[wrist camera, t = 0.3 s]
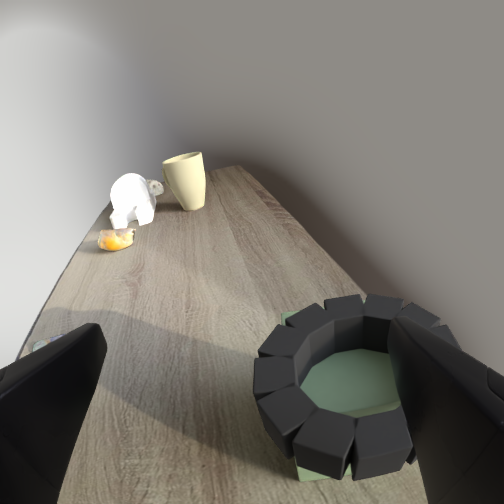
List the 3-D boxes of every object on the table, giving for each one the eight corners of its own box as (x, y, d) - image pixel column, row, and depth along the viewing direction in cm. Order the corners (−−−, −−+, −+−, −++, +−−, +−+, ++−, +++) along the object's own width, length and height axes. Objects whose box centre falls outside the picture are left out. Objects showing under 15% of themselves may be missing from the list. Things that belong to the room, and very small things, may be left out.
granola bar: (32, 357, 32) (28, 351, 32) (36, 346, 34) (32, 340, 34) (71, 347, 34) (68, 341, 33) (74, 336, 36) (70, 329, 35)
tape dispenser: (113, 233, 69) (98, 189, 64) (125, 210, 84) (114, 174, 80) (151, 222, 70) (138, 177, 65) (156, 200, 86) (146, 164, 81)
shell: (136, 237, 63) (136, 221, 60) (137, 254, 61) (136, 237, 57) (100, 240, 61) (97, 224, 57) (99, 256, 58) (95, 240, 55)
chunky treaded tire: (476, 444, 9) (497, 415, 8) (260, 491, 10) (248, 471, 9) (415, 315, 17) (420, 282, 16) (263, 340, 18) (255, 308, 17)
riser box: (400, 464, 16) (431, 391, 12) (299, 482, 17) (286, 420, 13) (377, 381, 23) (387, 295, 19) (294, 395, 24) (280, 312, 20)
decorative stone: (124, 205, 90) (119, 189, 87) (134, 194, 99) (130, 180, 97) (161, 195, 89) (157, 179, 87) (168, 185, 99) (165, 171, 97)
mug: (214, 196, 78) (203, 149, 72) (211, 209, 69) (198, 156, 64) (172, 205, 78) (159, 159, 73) (164, 219, 69) (149, 168, 64)
